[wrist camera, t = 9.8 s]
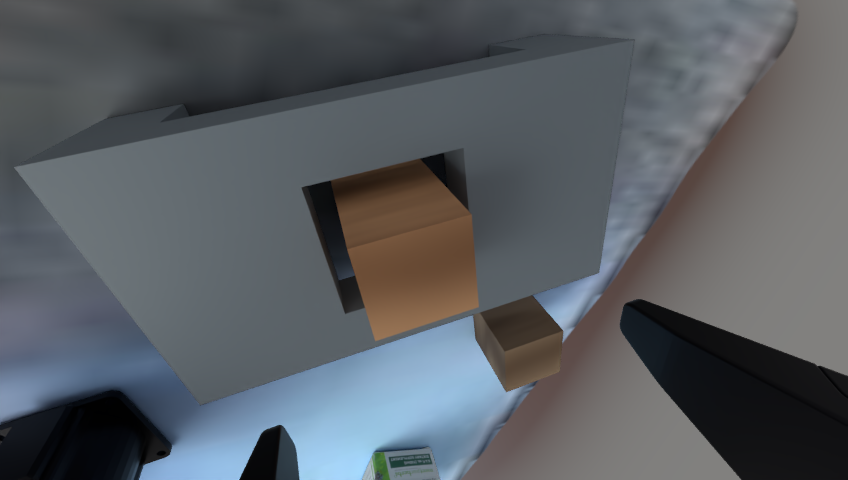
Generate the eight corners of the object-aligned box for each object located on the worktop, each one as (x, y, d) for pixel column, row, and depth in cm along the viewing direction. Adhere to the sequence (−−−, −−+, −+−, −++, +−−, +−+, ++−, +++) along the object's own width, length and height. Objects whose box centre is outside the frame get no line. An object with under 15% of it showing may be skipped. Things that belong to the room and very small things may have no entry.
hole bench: (537, 222, 25) (599, 272, 20) (221, 314, 21) (200, 405, 16) (543, 34, 19) (634, 39, 14) (105, 119, 15) (14, 167, 10)
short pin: (522, 322, 29) (559, 371, 25) (475, 338, 29) (506, 392, 24) (522, 283, 27) (563, 330, 23) (471, 300, 26) (504, 351, 22)
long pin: (413, 207, 21) (478, 307, 14) (345, 225, 21) (375, 341, 13) (401, 139, 19) (471, 214, 12) (324, 157, 18) (347, 249, 11)
